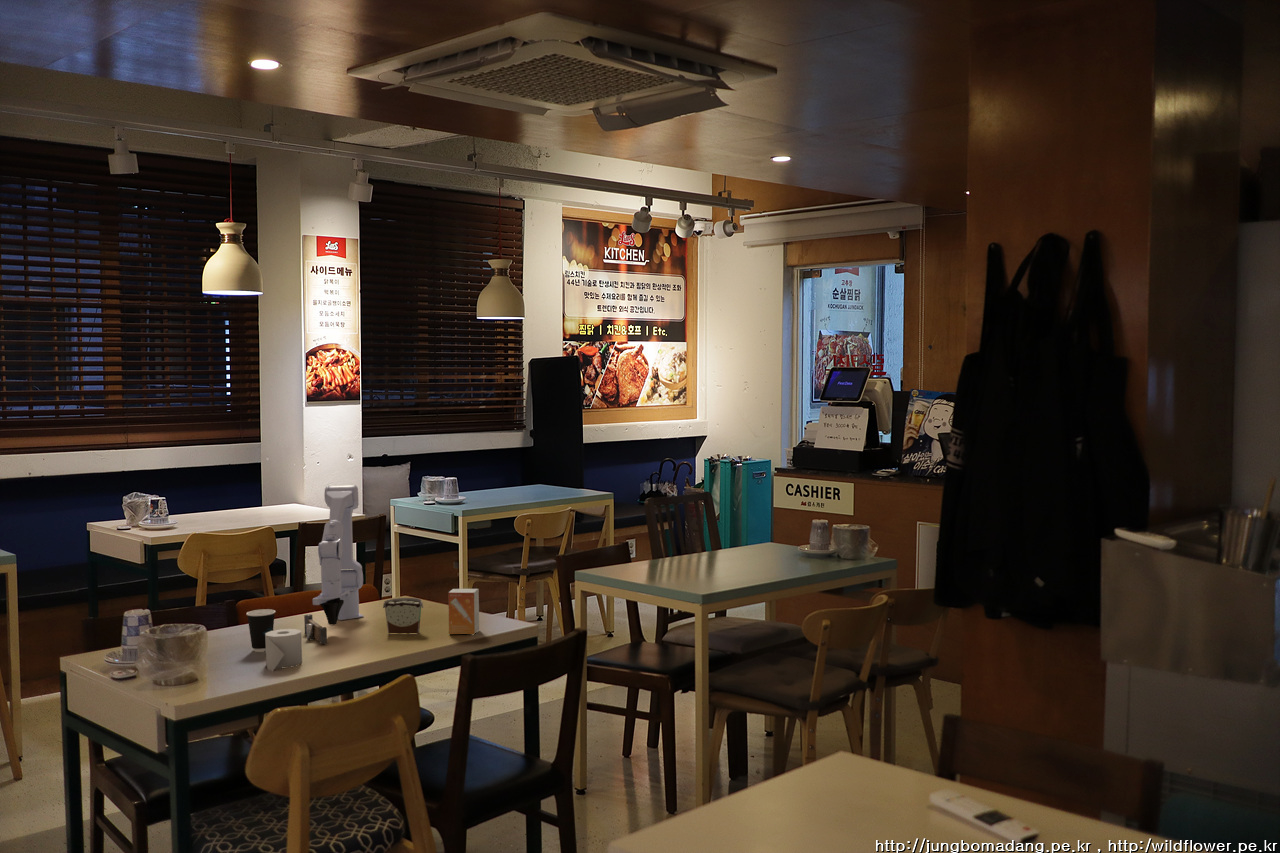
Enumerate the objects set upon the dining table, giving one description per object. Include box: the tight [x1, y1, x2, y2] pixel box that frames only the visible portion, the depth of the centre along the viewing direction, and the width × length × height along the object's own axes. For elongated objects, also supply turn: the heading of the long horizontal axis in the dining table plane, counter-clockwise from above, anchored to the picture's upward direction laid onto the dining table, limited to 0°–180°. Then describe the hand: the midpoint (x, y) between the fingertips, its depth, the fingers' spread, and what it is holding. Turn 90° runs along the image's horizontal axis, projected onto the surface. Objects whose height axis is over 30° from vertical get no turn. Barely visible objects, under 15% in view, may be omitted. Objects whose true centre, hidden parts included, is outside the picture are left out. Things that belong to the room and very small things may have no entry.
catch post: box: [306, 624, 315, 641], centre depth 324 cm, size 2×2×4 cm
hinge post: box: [303, 613, 314, 635], centre depth 333 cm, size 2×2×6 cm
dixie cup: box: [246, 608, 277, 653], centre depth 312 cm, size 8×8×11 cm
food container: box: [382, 597, 424, 634], centre depth 332 cm, size 12×6×10 cm, turn 84°
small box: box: [447, 588, 480, 635], centre depth 329 cm, size 8×6×13 cm
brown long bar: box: [308, 619, 328, 645], centre depth 324 cm, size 18×2×4 cm, turn 30°
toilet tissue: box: [265, 628, 303, 671], centre depth 294 cm, size 9×13×9 cm
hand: (332, 624), depth 330 cm, fingers closed
